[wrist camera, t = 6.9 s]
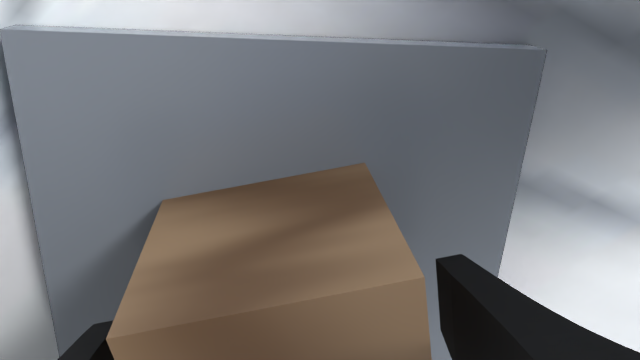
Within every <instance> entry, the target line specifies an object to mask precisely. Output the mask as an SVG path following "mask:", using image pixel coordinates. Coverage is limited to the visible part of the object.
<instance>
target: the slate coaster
mask: <svg viewBox="0 0 640 360" xmlns="http://www.w3.org/2000/svg"><path fill="white" fill-rule="evenodd" d="M0 36H1V41H2V47H3V52H4V58H5V63H6V69H7V74H8V79H9V85H10V90H11V96H12V101H13V107H14V112H15V117H16V123H17V128H18V134H19V139H20V145H21V150H22V156H23V161H24V166H25V172H26V177H27V183H28V188H29V194H30V199H31V204H32V210H33V215H34V221H35V226H36V232H37V237H38V243H39V248H40V253H41V259H42V264H43V270H44V275H45V281H46V286H47V292H48V297H49V302H50V308H51V313H52V319H53V324H54V330H55V335H56V340H57V346H58V351H59V357H61V356H62V355H63V354H64V353H65V351H66V350H67V349H68V348H69V347H70V346H71V345H72V344H73V343H74V342H75V341H76V340H77V339H78V338H79V337H80V336H81V335H82V334H83V333H84V332H85V331H86V330H88V329H89V328H90V327H91V326H92V325H93V324H97V323H102V322H107V321H113V320H114V318H115V316H116V313H117V311H118V308H119V306H120V303H121V301H122V298H123V296H124V294H125V291H126V289H127V286H128V284H129V281H130V279H131V276H132V274H133V272H134V269H135V267H136V264H137V262H138V259H139V257H140V254H141V252H142V250H143V247H144V245H145V242H146V240H147V237H148V235H149V232H150V230H151V227H152V225H153V223H154V220H155V218H156V215H157V213H158V210H159V208H160V205H161V203H162V201H163V200H166V199H171V198H177V197H182V196H188V195H193V194H198V193H204V192H209V191H214V190H220V189H225V188H231V187H236V186H241V185H247V184H252V183H258V182H263V181H268V180H274V179H279V178H285V177H290V176H295V175H301V174H306V173H312V172H317V171H322V170H328V169H333V168H339V167H344V166H349V165H355V164H360V163H365V164H366V166H367V168H368V170H369V171H370V173H371V175H372V177H373V179H374V181H375V183H376V185H377V187H378V189H379V191H380V193H381V194H382V196H383V198H384V200H385V202H386V204H387V206H388V208H389V210H390V212H391V214H392V215H393V217H394V219H395V221H396V223H397V225H398V227H399V229H400V231H401V233H402V235H403V237H404V238H405V240H406V242H407V244H408V246H409V248H410V250H411V252H412V254H413V256H414V258H415V259H416V261H417V263H418V265H419V267H420V269H421V271H422V273H423V275H424V277H425V286H426V298H427V310H428V322H429V333H430V345H431V357H432V360H452V358H451V356H450V353H449V351H448V348H447V346H446V343H445V340H444V338H443V335H442V332H441V330H440V316H439V301H438V287H437V273H436V259H437V258H442V257H448V256H453V255H458V254H463V255H464V256H466V257H467V258H469V259H470V260H472V261H473V262H475V263H476V264H478V265H479V266H481V267H482V268H484V269H485V270H487V271H488V272H490V273H491V274H493V275H494V276H496V277H498V273H499V268H500V264H501V259H502V255H503V250H504V245H505V241H506V236H507V232H508V227H509V223H510V218H511V213H512V209H513V204H514V200H515V195H516V190H517V186H518V181H519V177H520V172H521V168H522V163H523V158H524V154H525V149H526V145H527V140H528V136H529V131H530V126H531V122H532V117H533V113H534V108H535V103H536V99H537V94H538V90H539V85H540V81H541V76H542V71H543V67H544V62H545V58H546V53H547V50H546V49H542V48H539V47H536V46H532V45H519V44H494V43H468V42H443V41H417V40H392V39H366V38H341V37H315V36H290V35H264V34H238V33H213V32H187V31H162V30H136V29H111V28H85V27H60V26H34V25H13V26H10V27H6V28H2V29H0Z"/></svg>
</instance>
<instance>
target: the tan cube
mask: <svg viewBox="0 0 640 360" xmlns="http://www.w3.org/2000/svg"><path fill="white" fill-rule="evenodd" d="M106 341H107V343H108V346H109V348H110V350H111V353H112V355H113V358H114V360H432V357H431V345H430V333H429V322H428V310H427V298H426V286H425V277H424V275H423V273H422V271H421V269H420V267H419V265H418V263H417V261H416V259H415V258H414V256H413V254H412V252H411V250H410V248H409V246H408V244H407V242H406V240H405V238H404V237H403V235H402V233H401V231H400V229H399V227H398V225H397V223H396V221H395V219H394V217H393V215H392V214H391V212H390V210H389V208H388V206H387V204H386V202H385V200H384V198H383V196H382V194H381V193H380V191H379V189H378V187H377V185H376V183H375V181H374V179H373V177H372V175H371V173H370V171H369V170H368V168H367V166H366V164H365V163H360V164H355V165H349V166H344V167H339V168H333V169H328V170H322V171H317V172H312V173H306V174H301V175H295V176H290V177H285V178H279V179H274V180H268V181H263V182H258V183H252V184H247V185H241V186H236V187H231V188H225V189H220V190H214V191H209V192H204V193H198V194H193V195H188V196H182V197H177V198H171V199H166V200H163V201H162V203H161V205H160V208H159V210H158V213H157V215H156V218H155V220H154V223H153V225H152V227H151V230H150V232H149V235H148V237H147V240H146V242H145V245H144V247H143V250H142V252H141V254H140V257H139V259H138V262H137V264H136V267H135V269H134V272H133V274H132V276H131V279H130V281H129V284H128V286H127V289H126V291H125V294H124V296H123V298H122V301H121V303H120V306H119V308H118V311H117V313H116V316H115V318H114V320H113V323H112V325H111V328H110V330H109V333H108V335H107V338H106Z"/></svg>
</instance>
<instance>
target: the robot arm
mask: <svg viewBox="0 0 640 360" xmlns="http://www.w3.org/2000/svg"><path fill="white" fill-rule="evenodd" d="M436 273H437V287H438V301H439V316H440V330H441V332H442V335H443V338H444V340H445V343H446V346H447V348H448V351H449V353H450V356H451V358H452V360H640V353H639V352H637V351H634V350H632V349H629V348H627V347H625V346H622V345H620V344H618V343H616V342H613V341H611V340H609V339H607V338H605V337H602V336H600V335H598V334H596V333H594V332H591V331H589V330H587V329H585V328H583V327H581V326H579V325H577V324H575V323H573V322H572V321H570V320H568V319H566V318H564V317H562V316H561V315H559V314H557V313H555V312H553V311H551V310H549V309H548V308H546V307H544V306H542V305H541V304H539V303H537V302H536V301H534V300H532V299H531V298H529V297H527V296H526V295H524V294H522V293H521V292H519V291H518V290H516V289H514V288H513V287H511V286H510V285H508V284H507V283H505V282H503V281H502V280H500V279H499V278H497V277H496V276H494V275H493V274H491V273H490V272H488V271H487V270H485V269H484V268H482V267H481V266H479V265H478V264H476V263H475V262H473V261H472V260H470V259H469V258H467V257H466V256H464V255H463V254H458V255H453V256H448V257H442V258H437V259H436ZM112 323H113V321H107V322H102V323H97V324H93V325H92V326H91V327H90V328H89V329H88V330H86V331H85V332H84V333H83V334H82V335H81V336H80V337H79V338H78V339H77V340H76V341H75V342H74V343H73V344H72V345H71V346H70V347H69V348H68V349H67V350H66V351H65V353H64V354H63V355H62V356H61V357H60V358H59V359H58V360H114V358H113V355H112V353H111V350H110V348H109V346H108V343H107V341H106V338H107V335H108V333H109V330H110V328H111V325H112Z"/></svg>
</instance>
